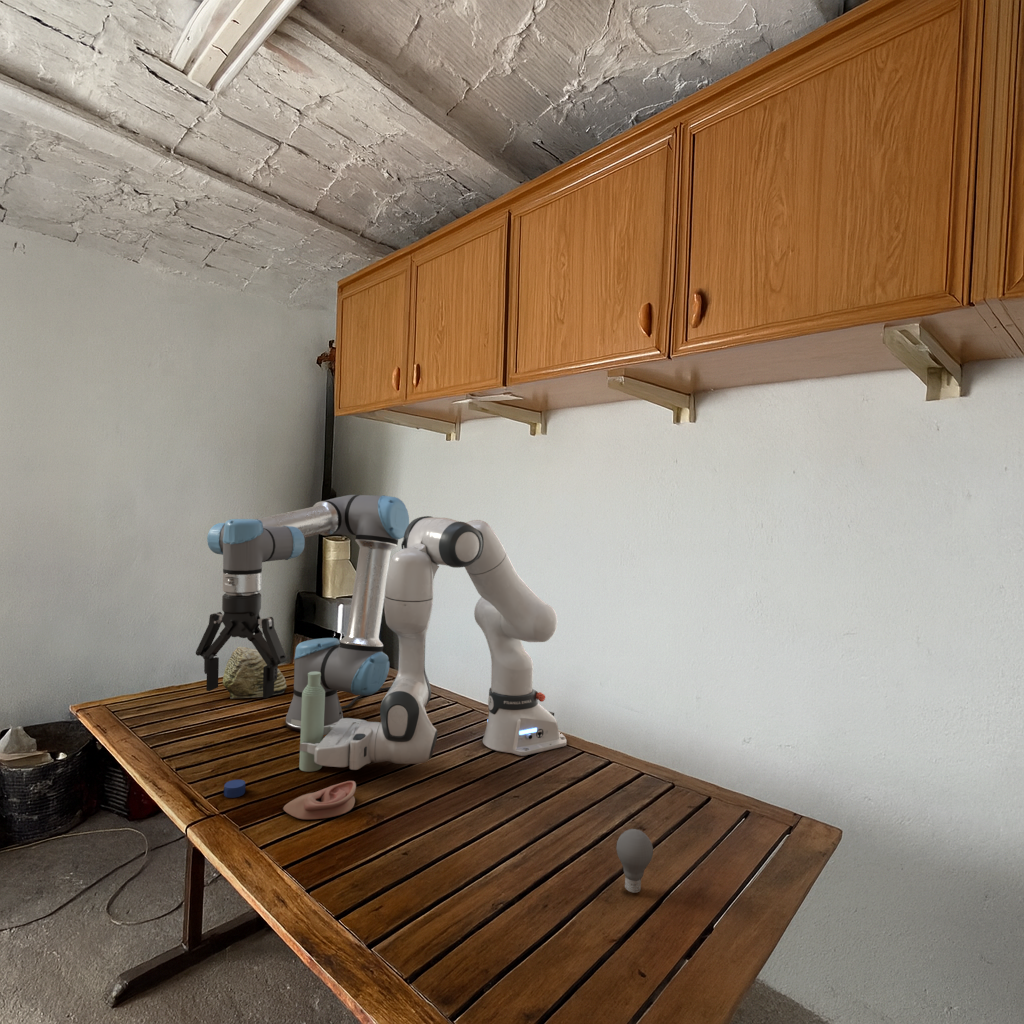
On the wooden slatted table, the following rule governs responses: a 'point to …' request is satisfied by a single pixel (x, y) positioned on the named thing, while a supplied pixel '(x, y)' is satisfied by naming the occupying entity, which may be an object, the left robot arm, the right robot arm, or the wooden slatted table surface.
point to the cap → (234, 788)
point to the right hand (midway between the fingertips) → (308, 738)
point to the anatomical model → (323, 802)
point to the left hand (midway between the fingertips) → (240, 692)
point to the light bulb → (634, 857)
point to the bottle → (312, 719)
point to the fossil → (248, 675)
